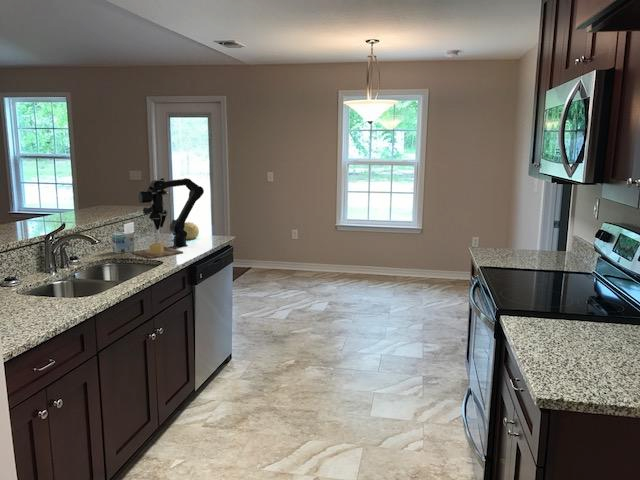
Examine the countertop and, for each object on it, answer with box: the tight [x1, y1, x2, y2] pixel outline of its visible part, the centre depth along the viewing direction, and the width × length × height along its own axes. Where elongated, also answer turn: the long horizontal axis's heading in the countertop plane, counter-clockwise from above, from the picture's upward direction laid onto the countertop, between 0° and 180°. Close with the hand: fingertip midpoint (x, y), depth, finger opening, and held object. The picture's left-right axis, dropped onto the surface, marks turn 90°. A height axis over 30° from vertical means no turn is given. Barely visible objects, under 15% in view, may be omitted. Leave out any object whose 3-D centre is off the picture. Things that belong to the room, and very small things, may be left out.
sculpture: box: [184, 221, 200, 240], centre depth 331 cm, size 11×12×11 cm
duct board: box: [131, 246, 184, 260], centre depth 287 cm, size 20×20×1 cm
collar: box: [149, 242, 165, 254], centre depth 283 cm, size 6×6×5 cm
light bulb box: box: [111, 231, 136, 254], centre depth 290 cm, size 11×7×11 cm, turn 129°
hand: (159, 228), depth 297 cm, fingers open, 9 cm apart
